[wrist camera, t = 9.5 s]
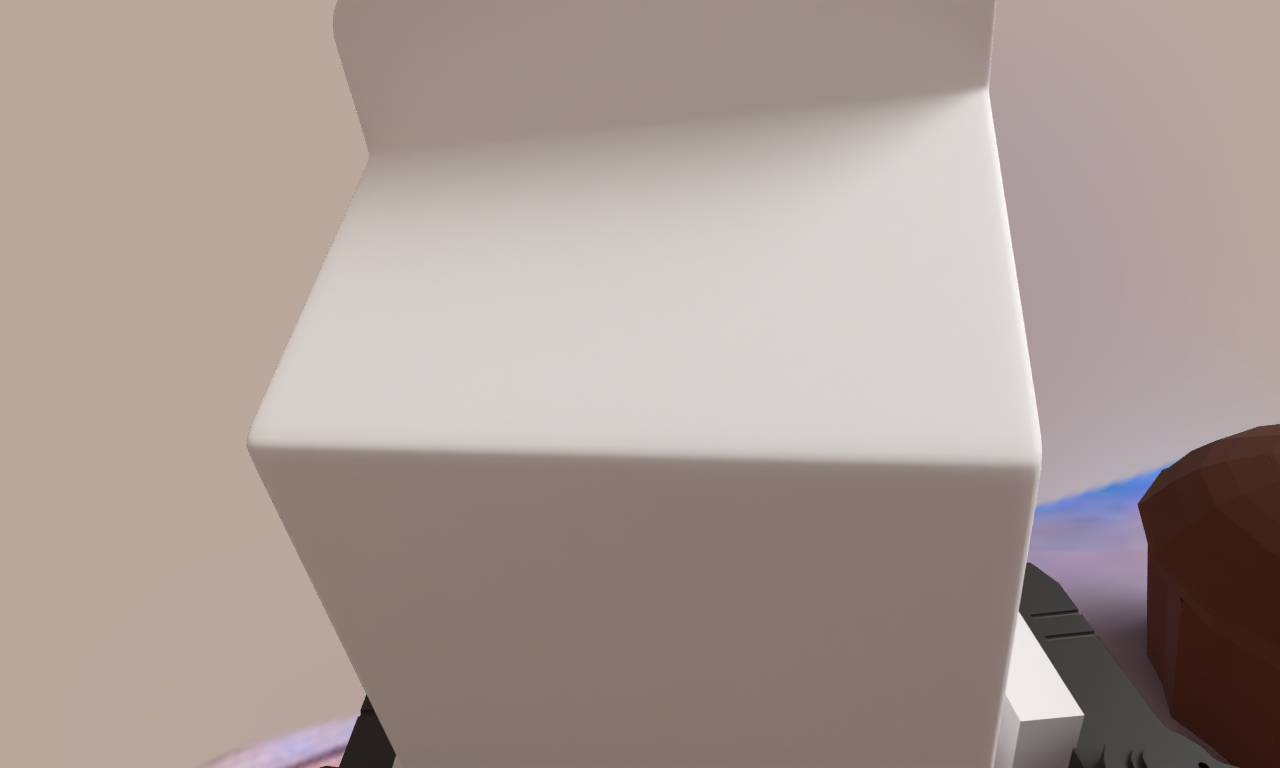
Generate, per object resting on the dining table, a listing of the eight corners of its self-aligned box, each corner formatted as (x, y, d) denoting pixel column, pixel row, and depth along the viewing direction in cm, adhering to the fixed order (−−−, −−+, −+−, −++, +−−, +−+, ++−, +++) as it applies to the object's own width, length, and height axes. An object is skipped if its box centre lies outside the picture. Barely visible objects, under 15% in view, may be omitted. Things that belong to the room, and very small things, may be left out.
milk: (912, 1293, 13) (1216, -238, 2) (603, 1191, 15) (-11, 10, 4) (892, 921, 18) (963, -106, 8) (663, 876, 20) (457, -19, 9)
